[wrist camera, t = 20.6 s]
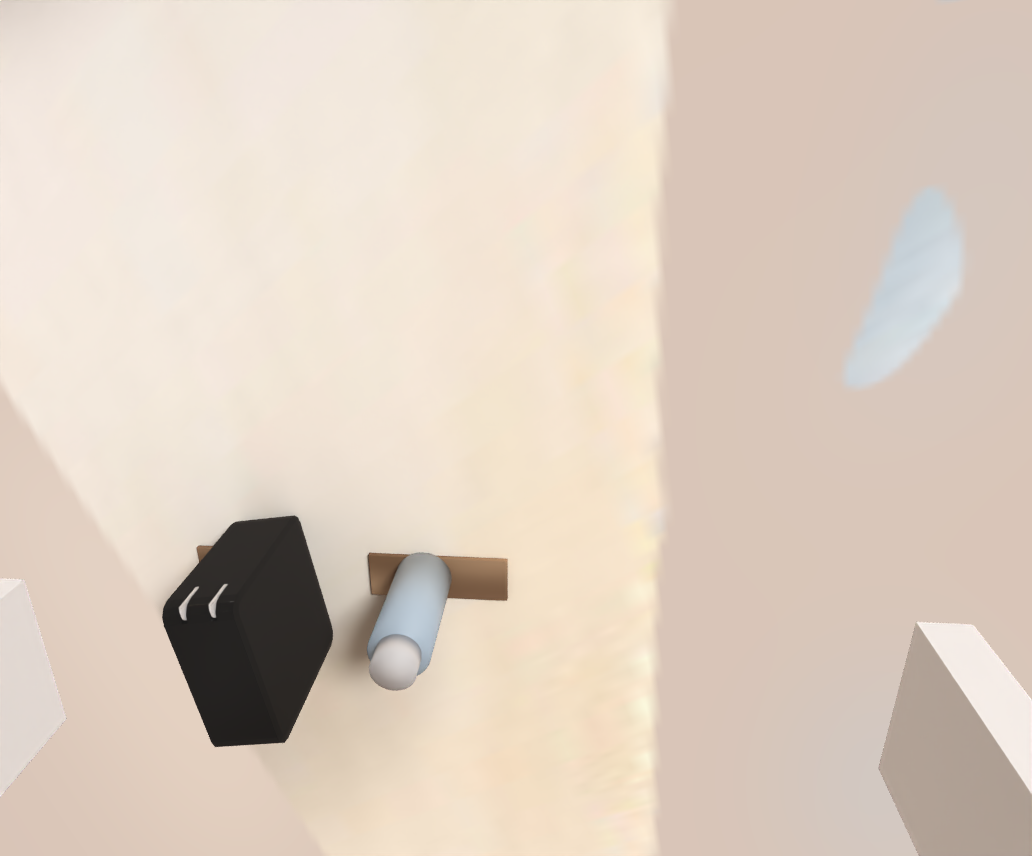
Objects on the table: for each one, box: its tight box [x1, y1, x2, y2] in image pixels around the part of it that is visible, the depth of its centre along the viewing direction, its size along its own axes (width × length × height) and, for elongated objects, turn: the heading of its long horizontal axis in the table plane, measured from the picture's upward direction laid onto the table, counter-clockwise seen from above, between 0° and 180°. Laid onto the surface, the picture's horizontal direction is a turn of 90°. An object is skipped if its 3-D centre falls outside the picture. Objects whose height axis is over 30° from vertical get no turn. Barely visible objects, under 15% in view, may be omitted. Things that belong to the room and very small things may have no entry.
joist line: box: [197, 546, 508, 600], centre depth 49 cm, size 3×20×1 cm, turn 90°
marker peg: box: [367, 553, 452, 690], centre depth 44 cm, size 4×4×9 cm
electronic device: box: [162, 516, 333, 747], centre depth 45 cm, size 4×10×10 cm, turn 9°
